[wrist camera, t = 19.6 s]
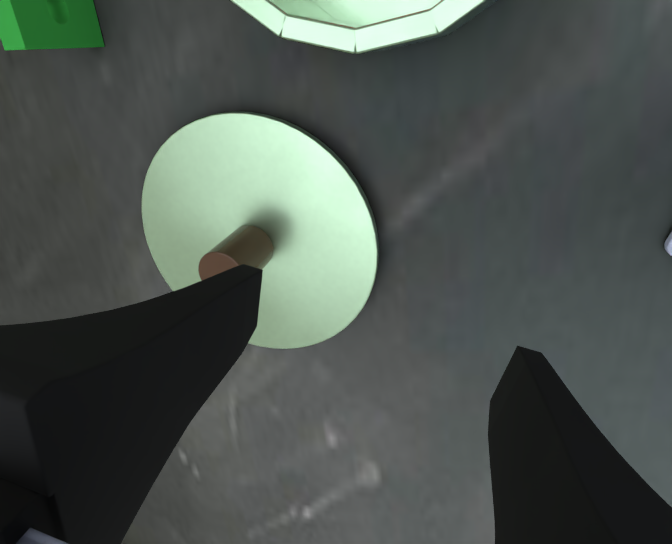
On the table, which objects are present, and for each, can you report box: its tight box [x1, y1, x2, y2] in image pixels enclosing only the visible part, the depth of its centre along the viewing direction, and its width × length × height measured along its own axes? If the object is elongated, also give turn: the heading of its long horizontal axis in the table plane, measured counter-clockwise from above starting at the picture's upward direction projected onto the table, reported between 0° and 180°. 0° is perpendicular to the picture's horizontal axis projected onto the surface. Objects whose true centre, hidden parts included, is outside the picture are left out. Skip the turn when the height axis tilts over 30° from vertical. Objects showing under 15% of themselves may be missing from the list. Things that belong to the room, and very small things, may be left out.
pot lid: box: [142, 111, 379, 349], centre depth 22 cm, size 13×13×4 cm
